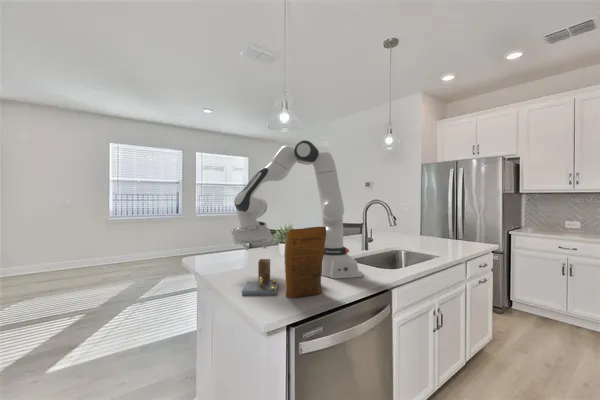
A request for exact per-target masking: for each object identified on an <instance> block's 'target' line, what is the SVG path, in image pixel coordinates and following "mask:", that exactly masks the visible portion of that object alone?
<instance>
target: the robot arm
mask: <svg viewBox="0 0 600 400" xmlns="http://www.w3.org/2000/svg"><path fill="white" fill-rule="evenodd" d="M273 156H274V157H273V158H272V159H271V161H270V163H268V164H267V165H266V166H265V167H262V168H259V170H258V171H257V172H256V174H254V175H253V176H252V178H251V180H250V181H249V182H248V183H247V184H246V186H245V187H244V188H243V189H242V190H241V191H240V192H239V193H238V194H237V195H236V196H235V198H234V200H233V201H234V206H235V208H236V213H237V214H236V215H237V218H238V221H239V222H240V223H239V225H240V227H234V228H233V229H231V230H230V231H231V234H232V237H233V239H232V240H233V243H234V245H237V246H238V245H241V246H242V247H243V248H244V249H245V251H249V250H250V247H249V245H248V244H255V243H256V244H257V243H263V244H262V248H263V249H267V248H268V247H267V243H268V242H271V240H272V238H273V235H272V232H271V230H270V228H269V227H267V223H266V222H263V221H259V220H257V219H259V218H261V217H262V216H263V215H264V214H265V213H266V212H267V210H268V204H267V202H266V200H264V199H263V198H261V197H258V196H255V195H254V194H255V193H256V191H257V190H258V189H259V188H260V187H261V185H262V184H263V183H266V182H279V181H280V182H281V181H282V180H283V181H284V180H285V178H286V177H288V174H289V173H290V171H291V170H292V168H293V166H294V165H295V164H296V163H299V164H303V165H312V166H313V170H314V173H315V178H316V184H317V185H316V186H317V189H318V196H319V202H320V208H321V212H322V213H321V215H322V216H321V217H322V218H321V220H322V221H321V227H326V240H325V248H324V256H323V261H322V274H321V276H323V277H328V278H331V279H349V278H352V279H353V278H362V277H363V275H364V274H363V271H362V270H361V269H359V266H358V262H357V261H356V260H355V259H354V258H353V257H351V255H349V254H348V253H350V249H349V248H347V247H346V246H344V217H343V215H344V213H345V206H344V202H343V197H342V193H341V192H342V191H341V188H340V184H339V178H338V177H339V176H338V172H337V167H336V164H335V161H334V157H333V155H332V154H331V152H329V151H319V149H318V148H317V147H316V146H315V145H314V143H312V142H311V141H309V140H306V139H305V140H300V141H299V142H297V143H296V145H294V147H293V146H290V145H283V146H281V148H280V149H279V150H278V151H277V152H276V154H275V155H273Z"/></svg>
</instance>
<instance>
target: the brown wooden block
mask: <svg viewBox="0 0 600 400" xmlns="http://www.w3.org/2000/svg"><path fill="white" fill-rule="evenodd" d="M257 263H258V265H257V266H258V269H257V270H258V271H257V275H258V277H257V278H258V281H257V282H259V278H260V277H262V278H263V282H271V259H270V258H260V259H258V262H257Z"/></svg>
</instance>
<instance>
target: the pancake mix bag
mask: <svg viewBox="0 0 600 400" xmlns="http://www.w3.org/2000/svg"><path fill="white" fill-rule="evenodd" d="M325 240H326V227H322V226H312V227H304V228H292V229H288V232H285V239H284V241H285V243H284V271H285V272H284V273H285V288H286V291H285V297H286V298H290V299H298V298H305V297H310V296H318V295H321V294H322V292H323V288H322V275H321V274H322V261H323V256H324V248H325Z"/></svg>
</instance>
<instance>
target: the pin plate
mask: <svg viewBox="0 0 600 400" xmlns="http://www.w3.org/2000/svg"><path fill="white" fill-rule="evenodd" d="M278 288H279V281H278V280H277V279H276V278H274V279H272V281H270V282H263V278H262V277H260V278H259V282H258V281H247V282H246V283H245V285H244V286H243V288H242V289H241V295H242V296H277V294H278Z"/></svg>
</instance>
